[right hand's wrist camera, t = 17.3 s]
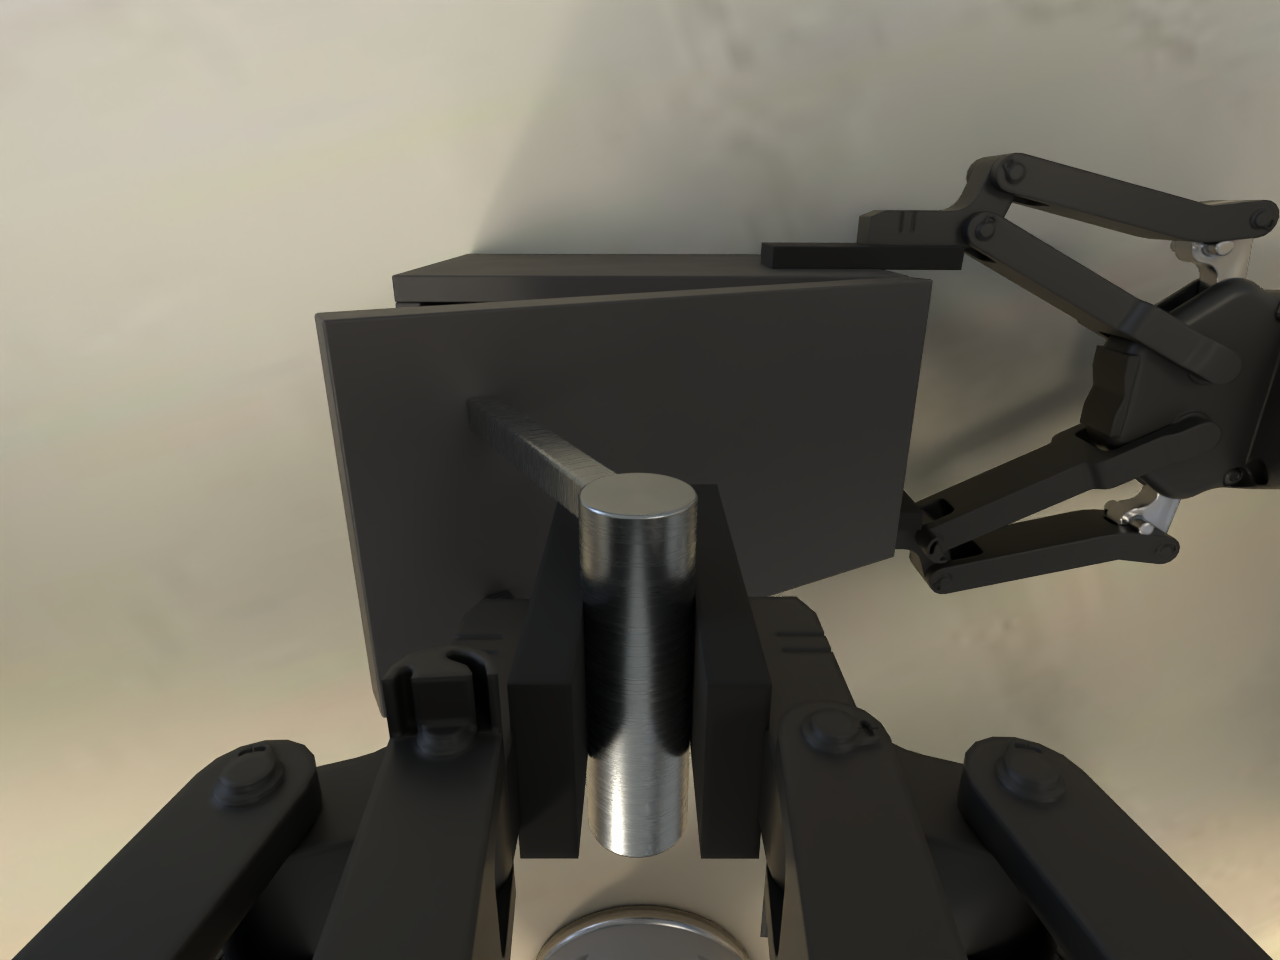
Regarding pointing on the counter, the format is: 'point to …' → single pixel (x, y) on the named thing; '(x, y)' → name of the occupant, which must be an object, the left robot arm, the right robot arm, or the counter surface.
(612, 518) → the lid
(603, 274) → the chest
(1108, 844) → the right robot arm
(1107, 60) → the counter surface
